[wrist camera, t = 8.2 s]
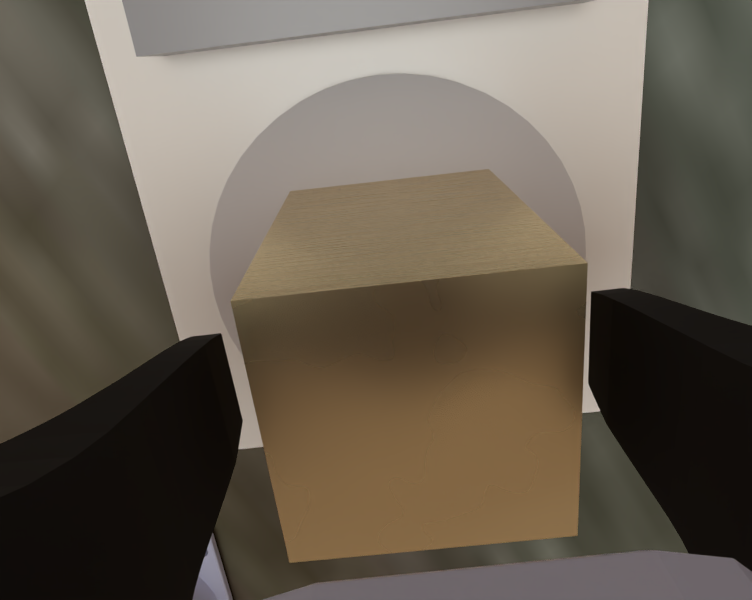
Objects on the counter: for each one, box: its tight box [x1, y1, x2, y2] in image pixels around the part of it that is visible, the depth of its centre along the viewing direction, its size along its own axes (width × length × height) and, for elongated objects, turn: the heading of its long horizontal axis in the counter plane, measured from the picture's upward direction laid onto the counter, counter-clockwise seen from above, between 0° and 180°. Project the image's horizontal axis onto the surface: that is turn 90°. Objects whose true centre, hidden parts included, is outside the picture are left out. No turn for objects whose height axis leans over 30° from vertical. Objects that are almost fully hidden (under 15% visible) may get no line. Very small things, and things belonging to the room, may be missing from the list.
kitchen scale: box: [85, 0, 648, 449], centre depth 15 cm, size 15×13×5 cm
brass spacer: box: [231, 169, 588, 563], centre depth 12 cm, size 5×5×7 cm
